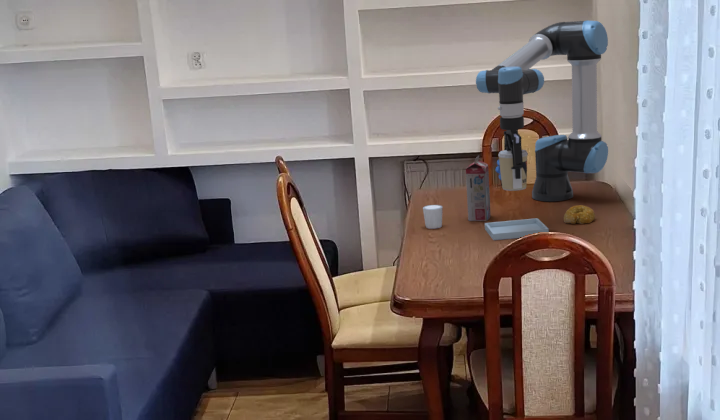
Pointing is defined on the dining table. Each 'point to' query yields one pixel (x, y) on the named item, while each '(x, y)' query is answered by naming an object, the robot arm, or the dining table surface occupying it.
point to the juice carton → (478, 191)
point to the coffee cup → (507, 172)
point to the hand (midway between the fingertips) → (514, 185)
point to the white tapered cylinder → (433, 216)
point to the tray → (514, 228)
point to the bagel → (579, 215)
